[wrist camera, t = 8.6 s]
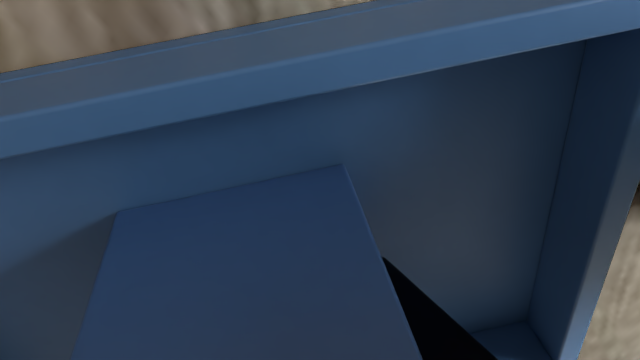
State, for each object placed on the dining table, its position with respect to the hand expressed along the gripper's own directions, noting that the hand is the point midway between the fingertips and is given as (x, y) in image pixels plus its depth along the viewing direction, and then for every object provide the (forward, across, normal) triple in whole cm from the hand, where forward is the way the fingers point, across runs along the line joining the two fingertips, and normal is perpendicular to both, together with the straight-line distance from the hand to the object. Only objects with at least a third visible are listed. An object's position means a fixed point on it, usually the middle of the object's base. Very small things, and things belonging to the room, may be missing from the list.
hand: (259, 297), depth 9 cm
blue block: (+1, 0, 0) cm, 1 cm away
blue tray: (+1, 0, 0) cm, 1 cm away
